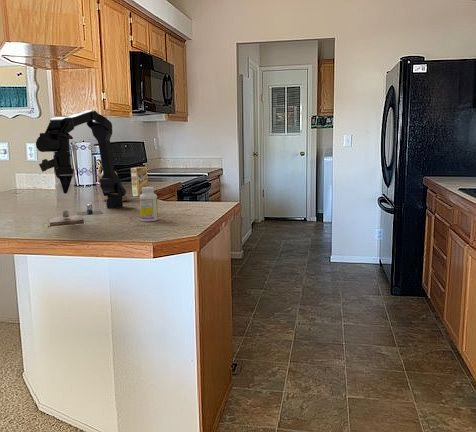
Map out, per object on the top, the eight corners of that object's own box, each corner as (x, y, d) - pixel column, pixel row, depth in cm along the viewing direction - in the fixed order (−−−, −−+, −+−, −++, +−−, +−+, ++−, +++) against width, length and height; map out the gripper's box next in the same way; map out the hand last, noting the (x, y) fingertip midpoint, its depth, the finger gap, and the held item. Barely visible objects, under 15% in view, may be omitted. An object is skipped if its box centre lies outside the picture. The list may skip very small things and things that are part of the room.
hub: (81, 218, 192) (80, 206, 192) (83, 223, 181) (82, 210, 181) (49, 221, 188) (48, 209, 187) (50, 226, 177) (48, 213, 176)
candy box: (138, 196, 258) (136, 168, 256) (132, 196, 261) (130, 168, 258) (148, 194, 266) (147, 166, 263) (142, 194, 268) (141, 166, 265)
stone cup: (97, 200, 246) (95, 171, 243) (119, 198, 252) (118, 170, 249) (105, 204, 233) (103, 173, 230) (129, 201, 239) (127, 171, 236)
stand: (100, 212, 207) (100, 202, 206) (103, 216, 198) (103, 205, 197) (76, 214, 203) (75, 204, 202) (78, 218, 194) (77, 207, 193)
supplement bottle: (150, 218, 190) (149, 186, 188) (161, 219, 186) (160, 187, 184) (137, 220, 185) (135, 187, 183) (148, 222, 181) (146, 188, 179)
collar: (73, 195, 188) (72, 182, 187) (74, 196, 182) (73, 183, 181) (56, 196, 185) (55, 183, 185) (56, 197, 180) (55, 184, 179)
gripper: (39, 151, 187) (42, 191, 189) (39, 152, 170) (42, 196, 172) (69, 151, 191) (71, 190, 193) (72, 151, 174) (75, 194, 176)
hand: (64, 192), depth 183 cm, fingers closed on collar, 6 cm apart
